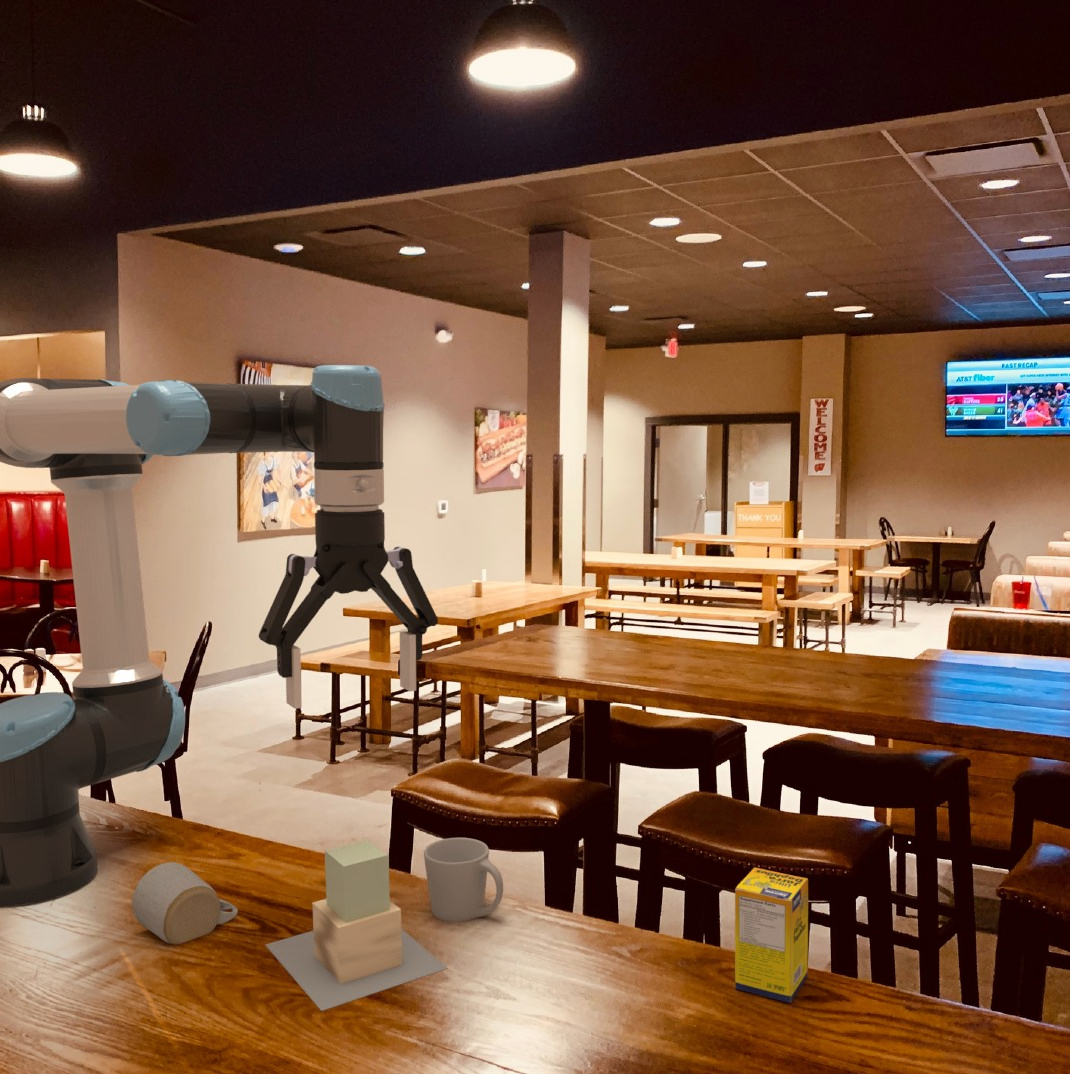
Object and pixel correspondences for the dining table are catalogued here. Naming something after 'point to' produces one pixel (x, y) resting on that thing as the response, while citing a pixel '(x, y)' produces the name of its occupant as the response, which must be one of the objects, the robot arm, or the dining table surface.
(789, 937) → the supplement box
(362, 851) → the sage block
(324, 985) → the board
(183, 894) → the ceramic mug
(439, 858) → the cup
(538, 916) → the dining table surface
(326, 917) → the base block
